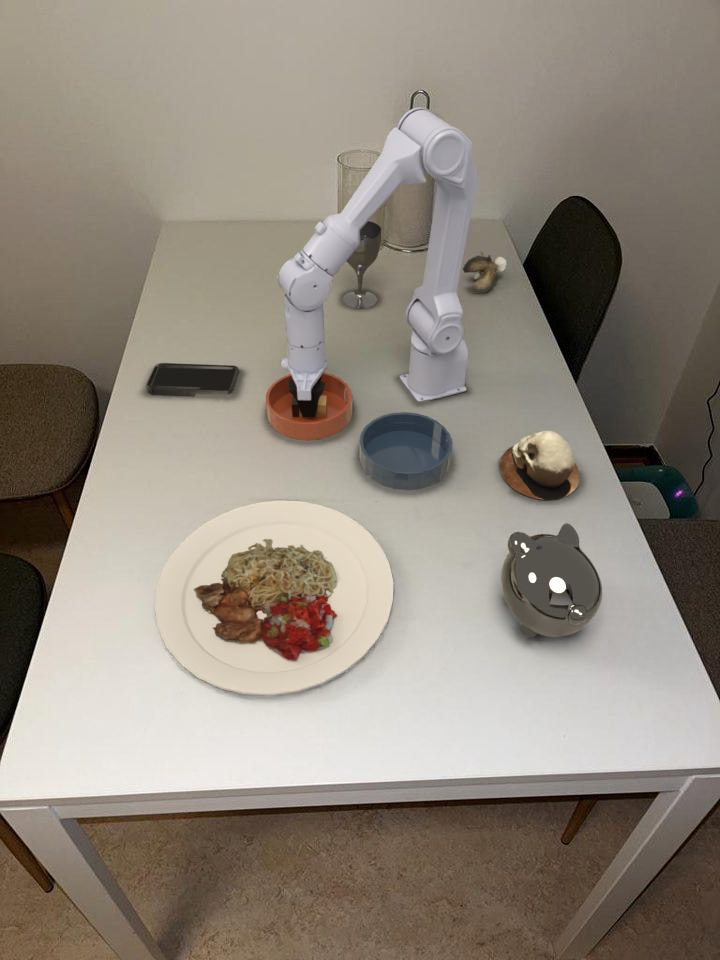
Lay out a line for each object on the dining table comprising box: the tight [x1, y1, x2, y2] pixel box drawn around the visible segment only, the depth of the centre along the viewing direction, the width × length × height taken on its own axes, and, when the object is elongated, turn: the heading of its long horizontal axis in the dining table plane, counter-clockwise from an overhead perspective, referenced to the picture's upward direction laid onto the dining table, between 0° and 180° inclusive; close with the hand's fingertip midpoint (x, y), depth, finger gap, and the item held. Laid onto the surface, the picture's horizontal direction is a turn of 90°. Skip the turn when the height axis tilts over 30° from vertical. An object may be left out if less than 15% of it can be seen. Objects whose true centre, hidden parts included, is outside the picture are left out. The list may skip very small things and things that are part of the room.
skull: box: [499, 430, 581, 501], centre depth 104 cm, size 12×10×10 cm
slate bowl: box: [358, 411, 454, 491], centre depth 106 cm, size 14×14×4 cm
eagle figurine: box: [461, 250, 507, 294], centre depth 145 cm, size 8×7×9 cm
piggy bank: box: [500, 523, 603, 639], centre depth 83 cm, size 11×15×12 cm
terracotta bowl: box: [265, 371, 353, 441], centre depth 113 cm, size 14×14×4 cm
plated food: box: [154, 499, 394, 697], centre depth 87 cm, size 30×30×3 cm
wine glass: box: [342, 220, 382, 310], centre depth 137 cm, size 8×8×15 cm
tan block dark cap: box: [292, 396, 327, 417], centre depth 113 cm, size 6×3×3 cm, turn 89°
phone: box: [145, 362, 240, 397], centre depth 121 cm, size 8×1×15 cm
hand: (309, 408), depth 114 cm, fingers open, 3 cm apart
